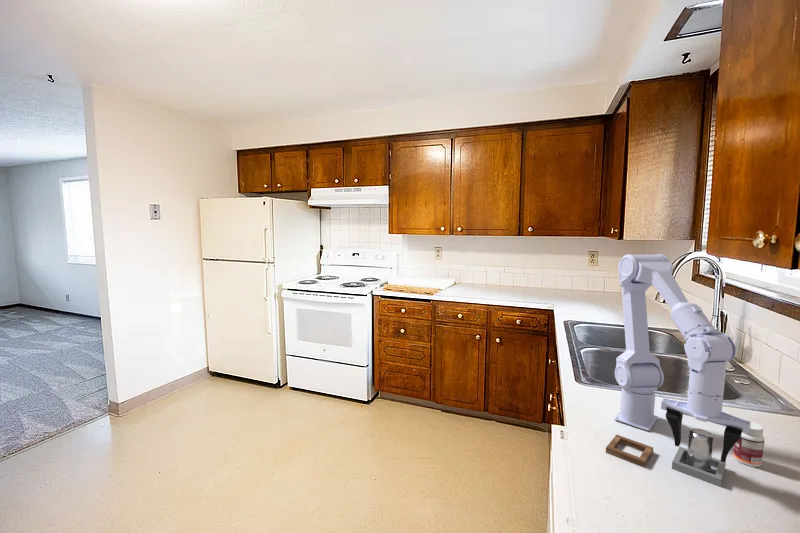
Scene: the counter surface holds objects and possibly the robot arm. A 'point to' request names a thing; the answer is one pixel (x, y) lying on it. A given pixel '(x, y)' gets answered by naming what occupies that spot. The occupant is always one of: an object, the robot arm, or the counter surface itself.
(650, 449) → the socket frame
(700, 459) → the grey thick round cylinder
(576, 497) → the counter surface
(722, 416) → the robot arm
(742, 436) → the pill bottle
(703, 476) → the frame
